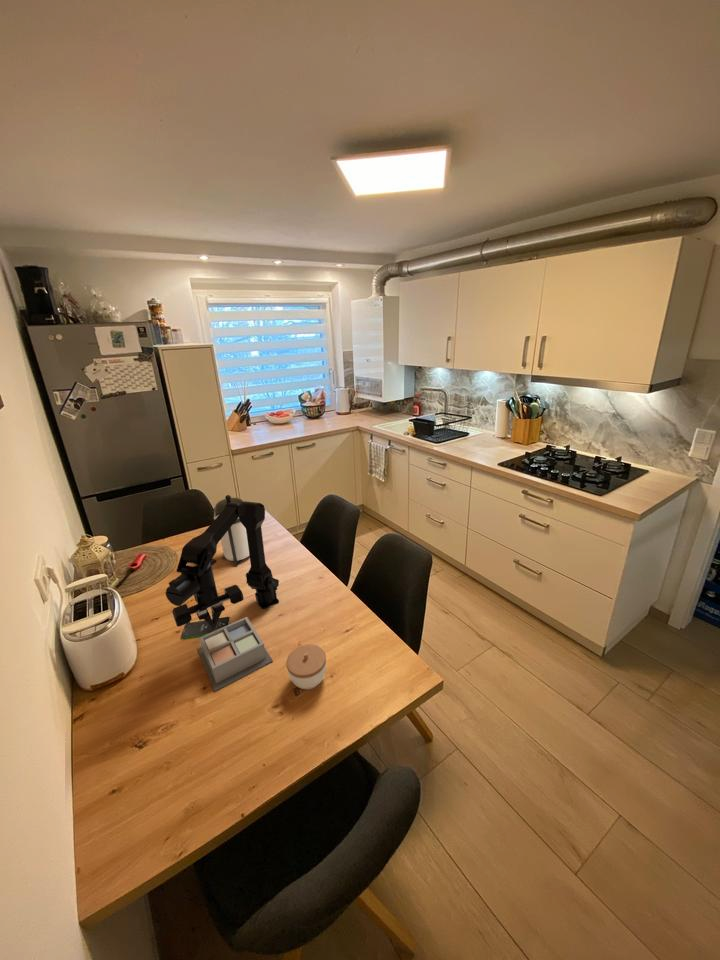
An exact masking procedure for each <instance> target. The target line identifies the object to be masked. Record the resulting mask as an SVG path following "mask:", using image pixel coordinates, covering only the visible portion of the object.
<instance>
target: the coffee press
mask: <svg viewBox="0 0 720 960" xmlns="http://www.w3.org/2000/svg"><path fill="white" fill-rule="evenodd" d="M224 497H225V498H223V499H221V500H219V501H218V502H217V503H216V504H215V506H214V509H213V512H214V513H213V520H215V519H216V518H217V517H218V516H219V515H220V513H221V512H222V511H223V510H224V509H225V506H226V504H227V503H230V502H233V503H242V502H244V500H243V499H241V498H238V497H232V496H231V495H230V494H227V495H225V496H224ZM220 541H221V547H222V551H223V555H222V557H221V559H222V560H228V561H231V562H233V567H238V565H239V561H241V560H244V559H246V558H248V557H250V555H249V548H248V541H247V533H246V528H245V527H244V526H243V524H242V523H241V522H240V519H239V518H238V519H237V520H236V521H235V522H234V524H233V525H232V526H231V527H230V529H229V530H228V531H227V532H226V534H225V535H224V536H223V537H222V539H221V540H220Z"/></svg>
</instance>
